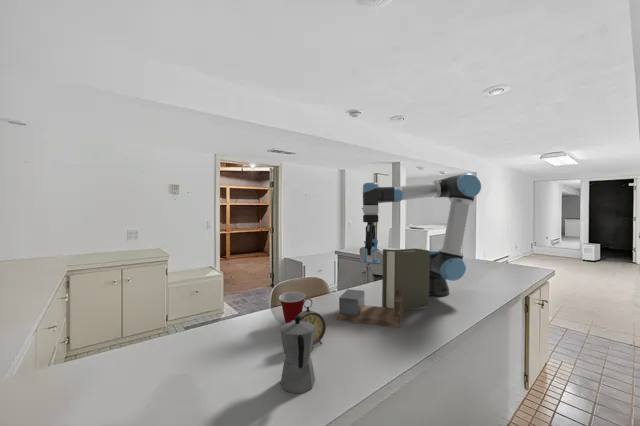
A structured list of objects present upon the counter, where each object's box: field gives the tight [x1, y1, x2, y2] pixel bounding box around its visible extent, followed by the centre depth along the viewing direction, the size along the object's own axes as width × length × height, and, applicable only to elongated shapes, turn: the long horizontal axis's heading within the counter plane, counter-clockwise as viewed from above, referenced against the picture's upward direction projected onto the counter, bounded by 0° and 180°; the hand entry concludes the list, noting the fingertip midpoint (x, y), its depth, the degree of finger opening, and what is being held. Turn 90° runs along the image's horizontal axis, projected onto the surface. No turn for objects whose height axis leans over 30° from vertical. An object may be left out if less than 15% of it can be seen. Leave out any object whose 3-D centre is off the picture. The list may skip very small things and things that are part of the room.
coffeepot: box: [279, 316, 316, 394], centre depth 78 cm, size 15×9×18 cm, turn 10°
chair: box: [361, 238, 381, 265], centre depth 146 cm, size 8×8×12 cm
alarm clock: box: [297, 298, 327, 347], centre depth 101 cm, size 11×5×16 cm, turn 117°
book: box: [381, 248, 431, 313], centre depth 141 cm, size 22×9×28 cm, turn 118°
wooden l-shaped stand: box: [335, 291, 404, 328], centre depth 128 cm, size 26×16×10 cm, turn 70°
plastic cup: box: [278, 291, 307, 324], centre depth 119 cm, size 11×11×12 cm
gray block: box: [338, 288, 365, 316], centre depth 131 cm, size 8×14×7 cm, turn 160°
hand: (371, 260), depth 146 cm, fingers closed on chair, 7 cm apart
